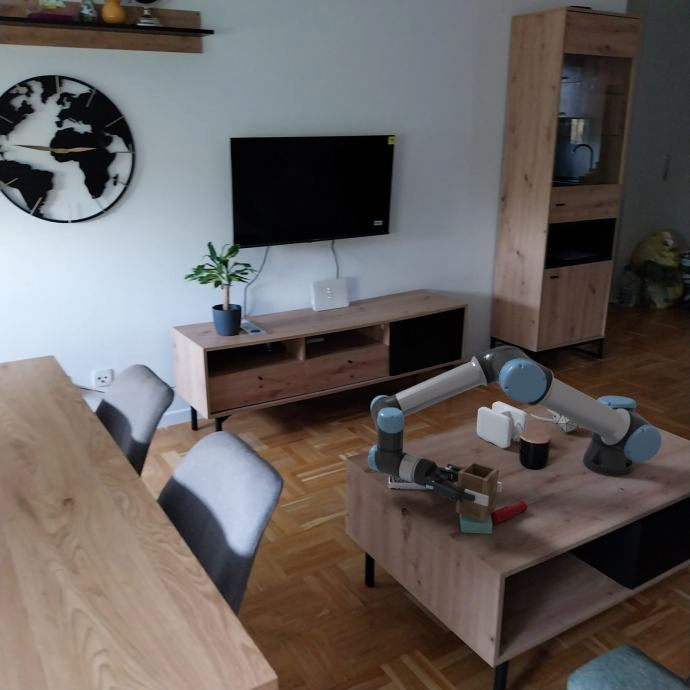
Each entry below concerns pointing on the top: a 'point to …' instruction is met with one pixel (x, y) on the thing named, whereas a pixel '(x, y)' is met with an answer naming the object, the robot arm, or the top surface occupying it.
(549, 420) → the pliers
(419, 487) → the multiport hub
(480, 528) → the post stand
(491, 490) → the brown tall open box
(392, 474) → the robot arm
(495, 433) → the cable organizer
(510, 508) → the screwdriver
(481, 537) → the top surface
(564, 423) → the game die
